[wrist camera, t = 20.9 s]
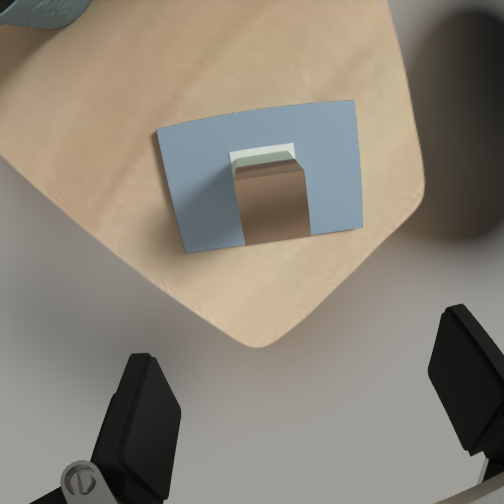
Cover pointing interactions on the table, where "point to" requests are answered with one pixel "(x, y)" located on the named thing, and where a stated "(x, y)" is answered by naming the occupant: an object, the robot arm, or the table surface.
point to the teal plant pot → (41, 12)
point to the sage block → (263, 158)
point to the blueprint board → (254, 143)
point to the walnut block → (272, 201)
